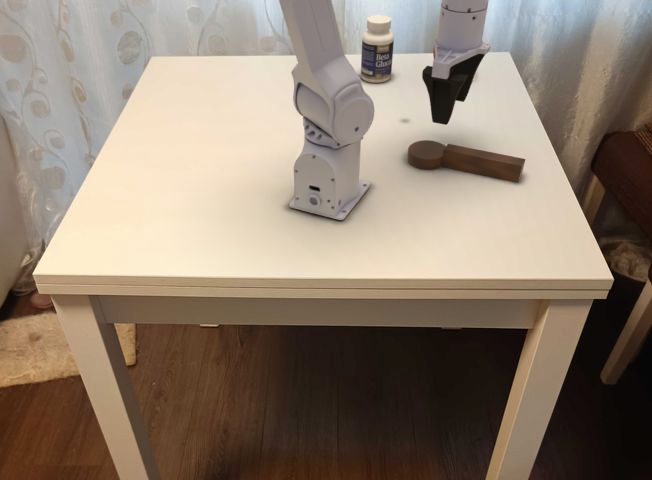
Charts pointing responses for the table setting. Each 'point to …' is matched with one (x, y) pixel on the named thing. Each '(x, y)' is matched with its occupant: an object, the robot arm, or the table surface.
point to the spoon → (465, 160)
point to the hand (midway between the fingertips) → (449, 110)
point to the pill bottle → (377, 49)
